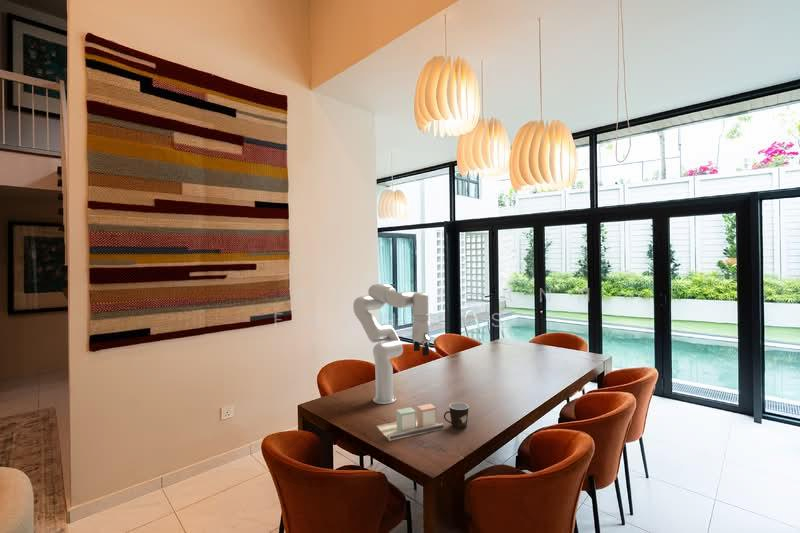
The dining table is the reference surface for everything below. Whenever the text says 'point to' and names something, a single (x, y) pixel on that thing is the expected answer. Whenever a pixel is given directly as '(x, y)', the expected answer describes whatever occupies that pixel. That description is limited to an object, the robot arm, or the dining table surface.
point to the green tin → (406, 419)
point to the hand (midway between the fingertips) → (421, 353)
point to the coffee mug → (458, 415)
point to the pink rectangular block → (426, 415)
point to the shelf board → (393, 434)
